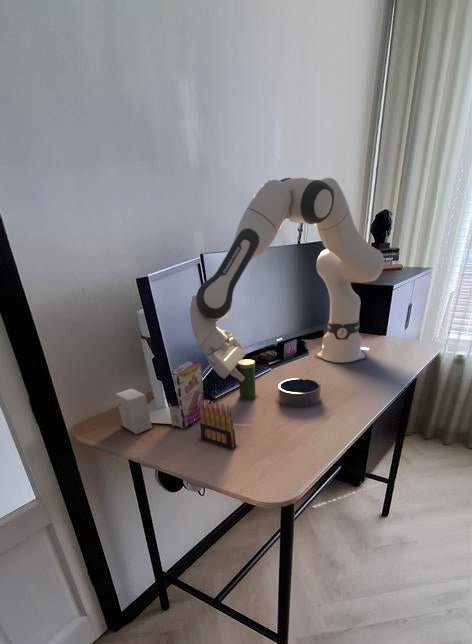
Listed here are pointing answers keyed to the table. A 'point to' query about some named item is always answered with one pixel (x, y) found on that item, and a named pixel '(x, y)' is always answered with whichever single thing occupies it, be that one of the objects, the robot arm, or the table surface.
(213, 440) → the ammunition clip
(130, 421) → the small box
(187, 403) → the candy bar box
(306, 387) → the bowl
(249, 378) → the tea tin
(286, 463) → the table surface
